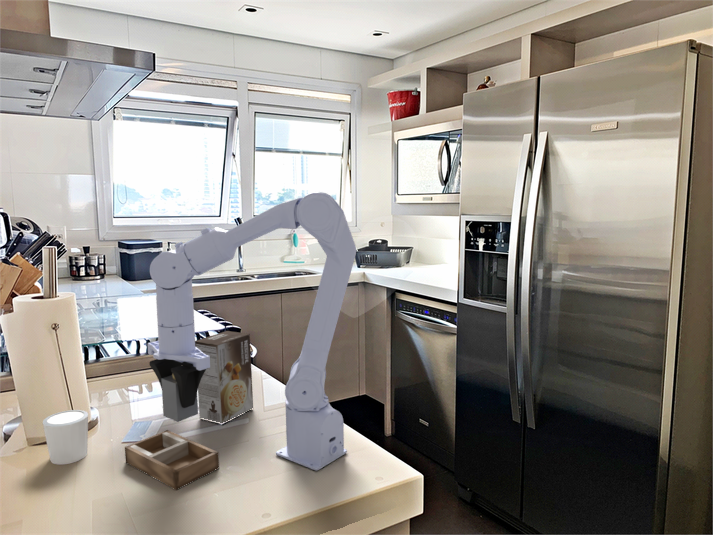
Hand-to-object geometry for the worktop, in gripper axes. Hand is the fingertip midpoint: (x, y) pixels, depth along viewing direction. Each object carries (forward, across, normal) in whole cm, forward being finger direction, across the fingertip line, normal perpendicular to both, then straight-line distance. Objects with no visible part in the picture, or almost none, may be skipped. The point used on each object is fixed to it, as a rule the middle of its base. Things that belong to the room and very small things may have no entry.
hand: (179, 402), depth 92 cm
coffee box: (+10, -8, +16) cm, 20 cm away
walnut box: (+9, +2, -3) cm, 10 cm away
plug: (+2, 0, 0) cm, 2 cm away
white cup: (+10, -15, -12) cm, 22 cm away
